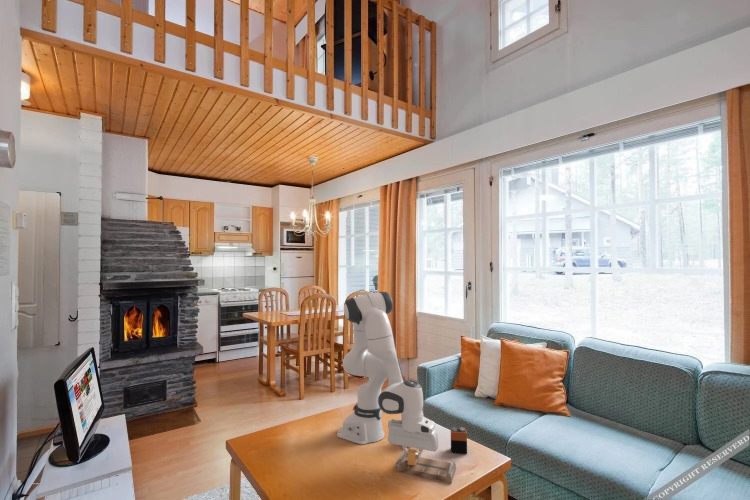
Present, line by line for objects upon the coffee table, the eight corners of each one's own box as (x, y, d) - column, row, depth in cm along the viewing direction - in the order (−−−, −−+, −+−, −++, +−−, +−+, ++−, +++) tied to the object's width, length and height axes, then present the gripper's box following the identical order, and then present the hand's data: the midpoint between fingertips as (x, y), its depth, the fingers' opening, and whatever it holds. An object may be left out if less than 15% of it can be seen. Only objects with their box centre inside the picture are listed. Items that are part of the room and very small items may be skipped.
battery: (467, 454, 158) (466, 431, 158) (451, 453, 159) (450, 429, 159) (466, 449, 162) (466, 426, 162) (450, 448, 163) (450, 425, 163)
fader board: (395, 471, 146) (395, 463, 146) (402, 458, 155) (402, 450, 155) (451, 483, 138) (451, 474, 138) (455, 469, 147) (455, 460, 147)
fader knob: (407, 464, 147) (407, 451, 147) (410, 458, 151) (410, 445, 151) (415, 465, 146) (414, 452, 146) (418, 459, 150) (418, 446, 150)
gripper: (385, 421, 150) (385, 456, 149) (435, 430, 142) (436, 466, 142) (390, 415, 156) (391, 448, 155) (438, 423, 148) (439, 458, 148)
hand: (412, 457), depth 148 cm, fingers closed on fader knob, 3 cm apart
